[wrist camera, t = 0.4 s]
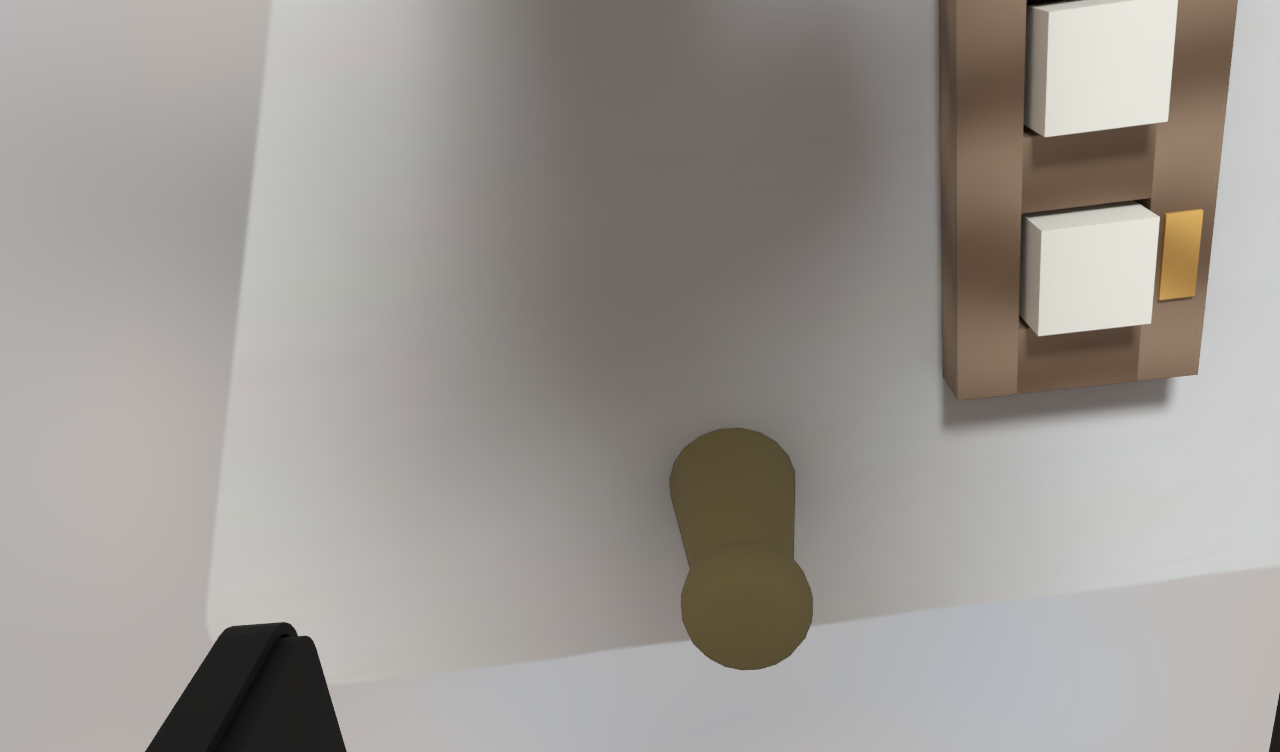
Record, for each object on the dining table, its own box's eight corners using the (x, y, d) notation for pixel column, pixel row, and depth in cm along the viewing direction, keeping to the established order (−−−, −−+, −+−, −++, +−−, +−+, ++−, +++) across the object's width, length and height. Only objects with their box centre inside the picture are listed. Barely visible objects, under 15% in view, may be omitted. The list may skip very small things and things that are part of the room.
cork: (684, 546, 50) (688, 706, 40) (656, 441, 47) (654, 584, 37) (805, 523, 49) (840, 681, 39) (783, 416, 47) (816, 554, 37)
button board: (936, -335, 34) (957, -354, 32) (1239, -385, 34) (1284, -408, 31) (943, 376, 46) (958, 402, 43) (1170, 351, 45) (1199, 376, 42)
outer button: (1020, 213, 41) (1041, 231, 39) (1132, 199, 41) (1159, 216, 38) (1018, 313, 43) (1038, 336, 40) (1125, 301, 42) (1150, 323, 40)
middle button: (1025, 5, 38) (1049, 11, 35) (1147, -12, 37) (1178, -6, 35) (1022, 123, 39) (1044, 137, 37) (1138, 109, 39) (1168, 121, 37)
